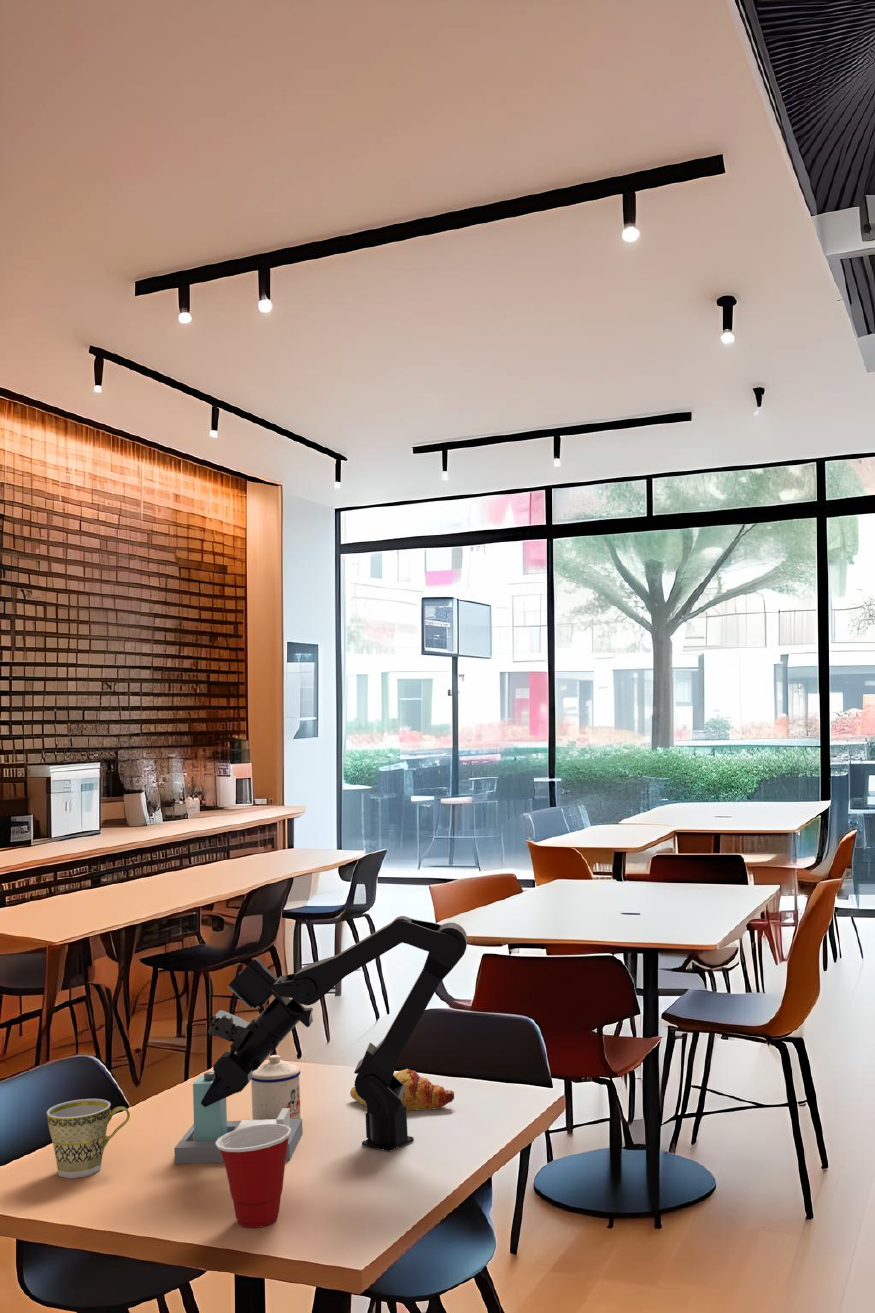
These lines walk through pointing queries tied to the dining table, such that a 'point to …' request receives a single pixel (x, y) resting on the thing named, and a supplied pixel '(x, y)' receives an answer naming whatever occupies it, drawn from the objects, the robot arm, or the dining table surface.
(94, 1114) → the ceramic cup
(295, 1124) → the socket plate
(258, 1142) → the plastic cup
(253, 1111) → the teacup with lid
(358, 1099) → the croissant
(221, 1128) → the teal rectangular bottle
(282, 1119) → the panel
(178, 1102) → the dining table surface
